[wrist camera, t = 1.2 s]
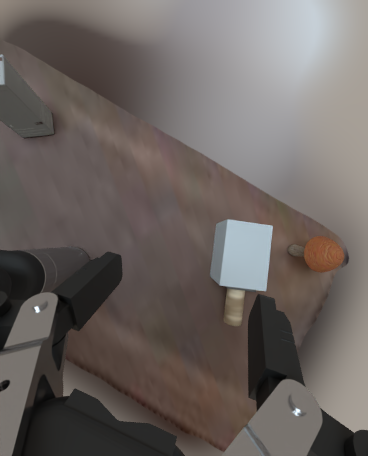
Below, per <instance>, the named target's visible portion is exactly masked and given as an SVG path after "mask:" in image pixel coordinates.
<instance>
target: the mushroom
mask: <svg viewBox="0 0 368 456" xmlns="http://www.w3.org/2000/svg"><path fill="white" fill-rule="evenodd" d="M288 252H289V253H290V254H291V255H292V256H304V257H305V261H306V263H307V265H308V266H309V267H310V268H311V269H312V270H314V271H316V272H327V271H330V270H333V269H335V268H337V267H338V266H339V265H340V264H341V263H342V262H343V260H344V253H343V250H342V249H341V247H340V246H339V245H338V244H337V243H336V242H334V241H333V240H331V239H329V238H326V237H323V236H317V237H314V238H312V239H311V240H310V241H309V242H308V243H307V244H306V247H305V248H304V247H301V246H298V245H291V246H290V247H289V248H288Z"/></svg>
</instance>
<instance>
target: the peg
mask: <svg viewBox="0 0 368 456" xmlns="http://www.w3.org/2000/svg"><path fill="white" fill-rule="evenodd" d="M244 296H245V291H243V290H235V289H228V288H227V294H226V302H225V311H224V319H223V321H224V322H225V323H227V324H229V325H232V326H241V323H242V314H243V305H244Z"/></svg>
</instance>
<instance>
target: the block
mask: <svg viewBox="0 0 368 456" xmlns="http://www.w3.org/2000/svg"><path fill="white" fill-rule="evenodd" d="M272 229H273V226H270V225H263V224H256V223H249V222H242V221H235V220H229V219H227V220H225V221H222V222H220V223H217V224H216V231H215V239H214V247H213V255H212V263H211V271H210V277H211V278H213V279H214V280H215V281H216V282H217V283H218V284H219V285H221V286H225V287H226V288H228V289H235V290H243V291H251V292H256V290H260V291H266V287H267V277H268V267H269V258H270V248H271V238H272Z"/></svg>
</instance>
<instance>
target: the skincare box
mask: <svg viewBox="0 0 368 456" xmlns="http://www.w3.org/2000/svg"><path fill="white" fill-rule="evenodd" d="M0 120H1V121H2V122H3V123H4V124H6V125H7V126H8V127H9V128H11V129H12V130H13V131H15V132H16V133H17V134H18V135H20V136H21V137H23V138H26V137H35V136H44V135H52V134H54V128H53V118H52V112H51V111H50V110H49V109H48V108H47V106H46V105H45V104H44V103H43V102H42V101H41V99H40V98H39V97H38V96H37V95H36V94H35V92H34V91H33V90H32V89H31V88H30V86H29V85H28V84H27V83H26V82H25V81H24V79H23V78H22V77H21V76H20V75H19V73H18V72H17V71H16V70H15V69H14V68H13V66H12V65H11V64H10V63H9V62H8V60H7V59H6V58H5V57H4V56H3V55H0Z"/></svg>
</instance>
